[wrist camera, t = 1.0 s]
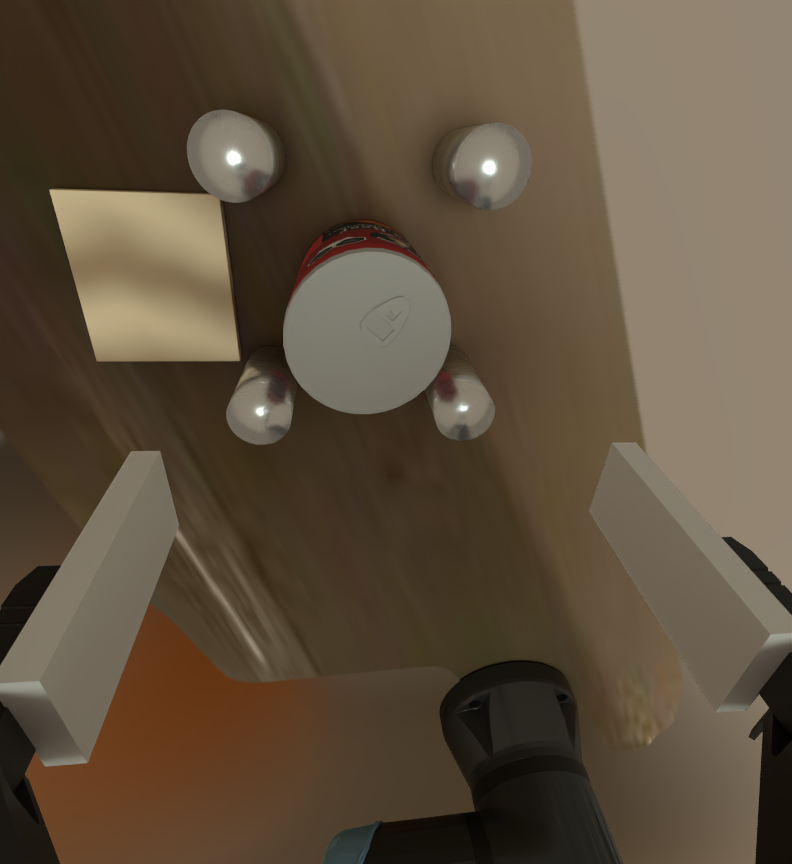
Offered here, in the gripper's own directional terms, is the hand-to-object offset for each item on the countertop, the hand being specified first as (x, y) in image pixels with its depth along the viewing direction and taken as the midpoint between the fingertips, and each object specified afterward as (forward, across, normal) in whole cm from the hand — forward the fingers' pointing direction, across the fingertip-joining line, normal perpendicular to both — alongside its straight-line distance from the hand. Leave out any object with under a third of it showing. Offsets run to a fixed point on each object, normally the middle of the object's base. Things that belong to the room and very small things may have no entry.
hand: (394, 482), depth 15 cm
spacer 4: (+20, -6, +6) cm, 22 cm away
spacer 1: (+21, +6, -7) cm, 23 cm away
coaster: (+21, +13, 0) cm, 24 cm away
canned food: (+21, 0, 0) cm, 21 cm away
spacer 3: (+21, -6, -7) cm, 23 cm away
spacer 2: (+20, +6, +6) cm, 22 cm away
